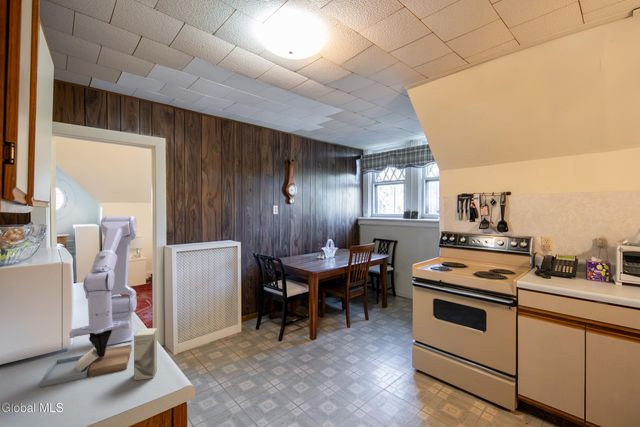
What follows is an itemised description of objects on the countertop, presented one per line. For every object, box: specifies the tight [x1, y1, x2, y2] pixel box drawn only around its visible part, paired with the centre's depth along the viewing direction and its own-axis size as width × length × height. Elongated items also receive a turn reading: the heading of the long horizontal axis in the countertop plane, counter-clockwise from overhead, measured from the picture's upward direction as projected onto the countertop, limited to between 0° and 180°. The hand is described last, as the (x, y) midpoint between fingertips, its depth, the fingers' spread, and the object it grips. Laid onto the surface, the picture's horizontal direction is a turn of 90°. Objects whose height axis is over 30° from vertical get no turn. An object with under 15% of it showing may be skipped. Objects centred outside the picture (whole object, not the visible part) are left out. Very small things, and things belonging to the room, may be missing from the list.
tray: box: [39, 353, 92, 388], centre depth 87 cm, size 12×10×2 cm
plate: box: [88, 344, 132, 378], centre depth 92 cm, size 12×9×2 cm
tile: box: [75, 346, 98, 372], centre depth 89 cm, size 5×5×2 cm
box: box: [133, 327, 158, 381], centre depth 85 cm, size 5×4×13 cm
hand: (102, 355), depth 91 cm, fingers closed
